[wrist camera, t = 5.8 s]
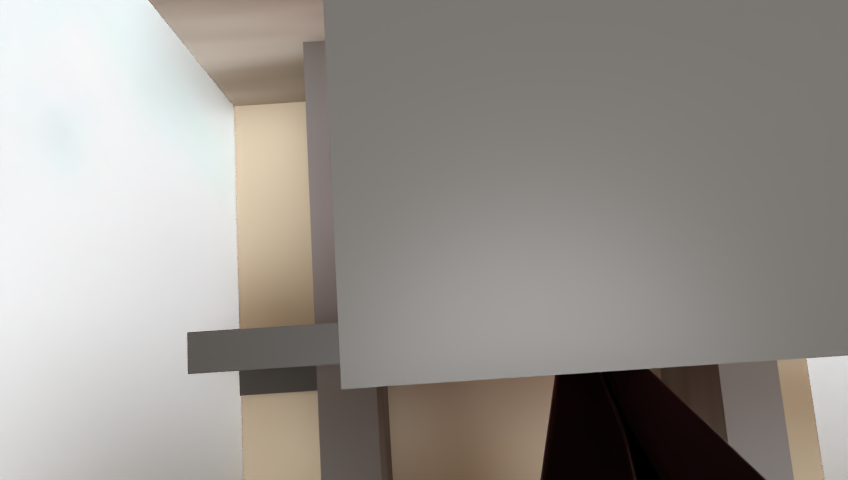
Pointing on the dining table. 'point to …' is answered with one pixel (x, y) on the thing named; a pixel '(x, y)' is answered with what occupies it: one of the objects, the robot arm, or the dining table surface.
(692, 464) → the robot arm
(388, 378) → the red plug
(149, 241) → the dining table surface
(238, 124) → the beige base board
